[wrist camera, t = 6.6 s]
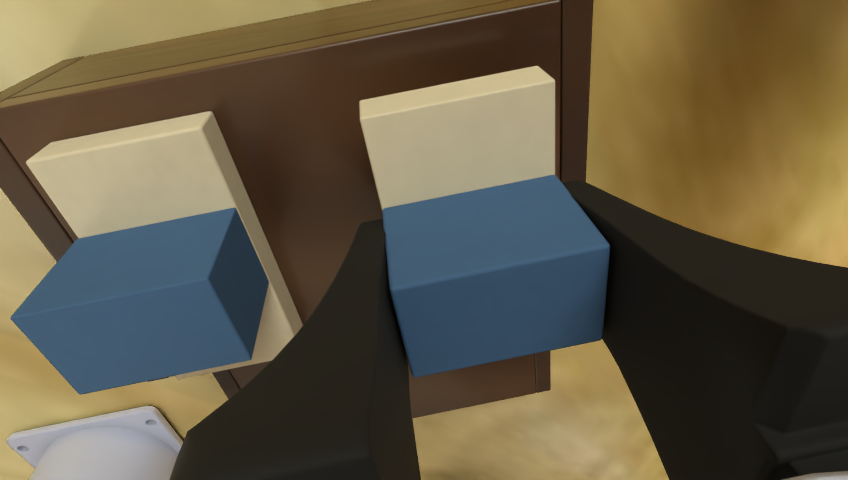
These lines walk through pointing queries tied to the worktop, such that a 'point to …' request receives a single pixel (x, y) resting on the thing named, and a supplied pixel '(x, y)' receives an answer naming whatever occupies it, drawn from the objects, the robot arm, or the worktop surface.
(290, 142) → the brown block holder
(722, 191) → the worktop surface
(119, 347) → the cream and blue block
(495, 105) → the blocky toy chair
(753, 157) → the worktop surface
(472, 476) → the worktop surface
